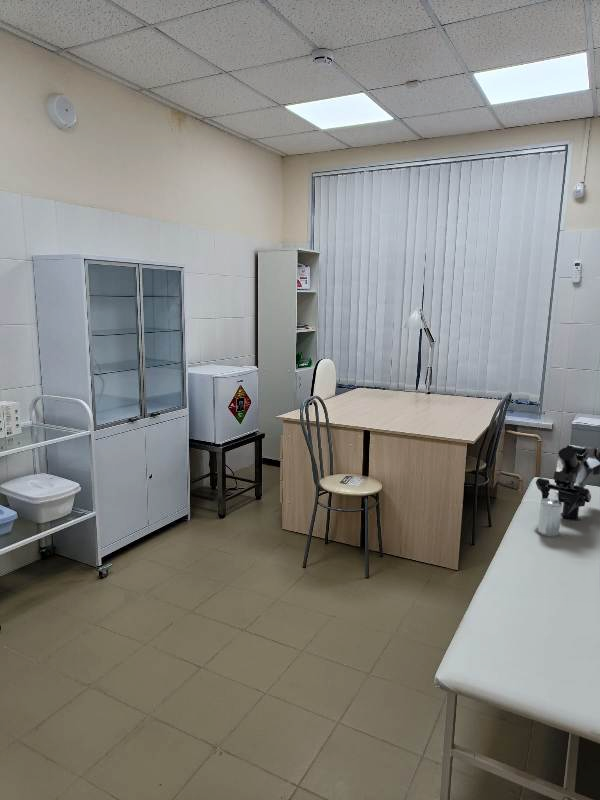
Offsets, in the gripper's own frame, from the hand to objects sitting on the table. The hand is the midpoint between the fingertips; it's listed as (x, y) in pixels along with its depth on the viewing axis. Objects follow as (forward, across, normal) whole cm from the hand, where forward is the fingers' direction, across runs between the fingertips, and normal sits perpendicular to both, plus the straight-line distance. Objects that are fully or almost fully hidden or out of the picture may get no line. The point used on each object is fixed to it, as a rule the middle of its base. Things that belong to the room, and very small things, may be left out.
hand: (555, 509), depth 205 cm
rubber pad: (+9, 0, +2) cm, 10 cm away
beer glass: (-25, -13, +38) cm, 48 cm away
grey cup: (+9, 0, +2) cm, 9 cm away
